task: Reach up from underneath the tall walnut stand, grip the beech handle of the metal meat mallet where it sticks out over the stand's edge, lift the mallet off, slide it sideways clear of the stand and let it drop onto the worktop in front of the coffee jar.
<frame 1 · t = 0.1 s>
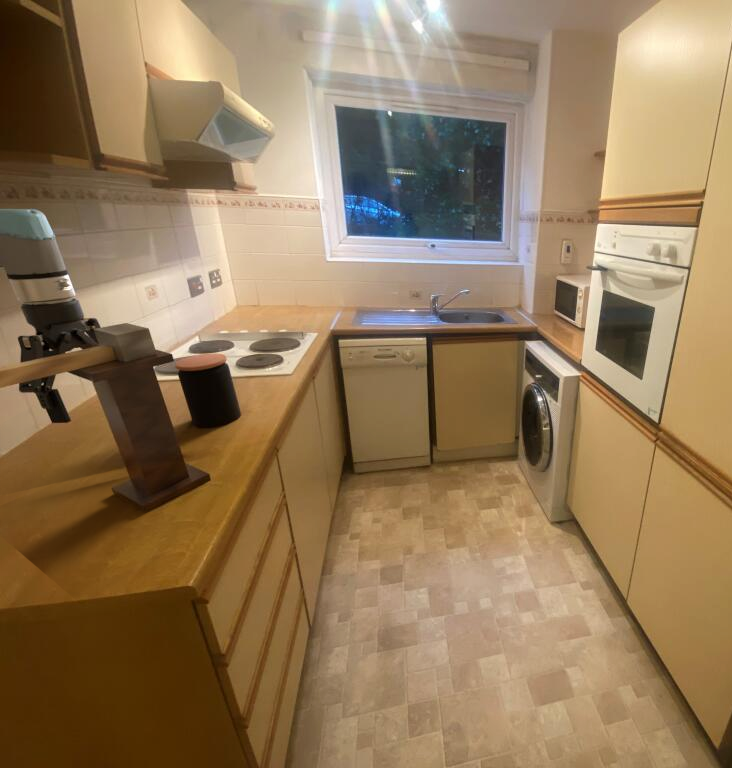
hand: (92, 406, 87), 16 cm above the countertop, tool pointing down, fingers open, 13 cm apart
stand: (163, 486, 89), on the countertop
mallet: (74, 368, 73), point 28 cm above the countertop, touching stand
coffee jar: (219, 424, 114), on the countertop
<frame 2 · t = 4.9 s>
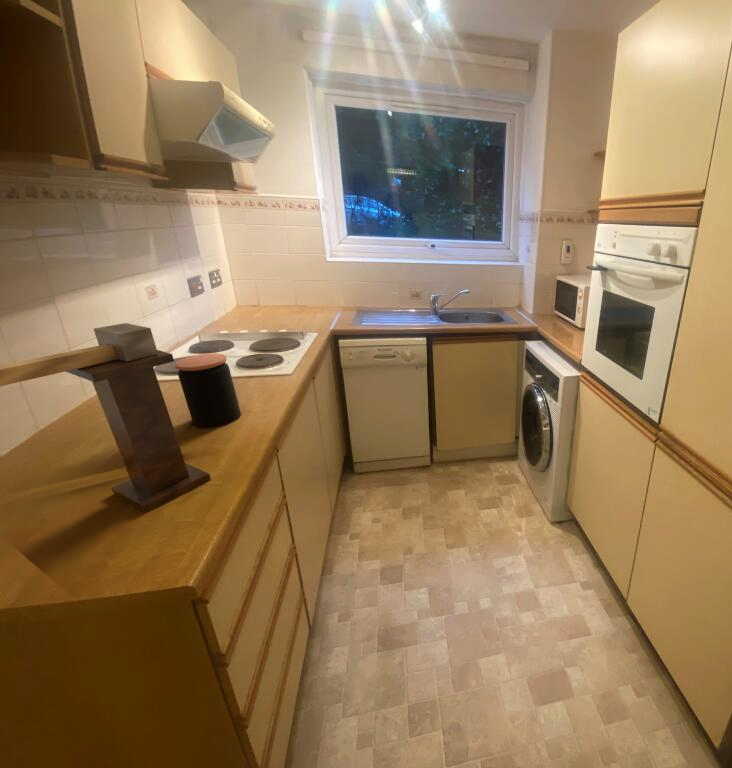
mallet: (75, 367, 73), point 28 cm above the countertop
everything else where it was.
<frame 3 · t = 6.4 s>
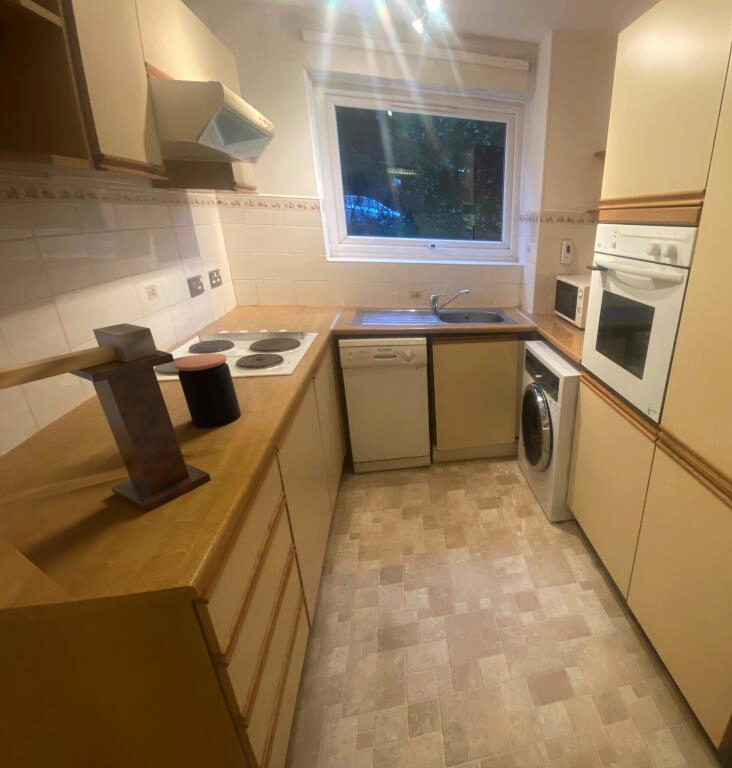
mallet: (75, 368, 73), point 28 cm above the countertop, touching stand
everything else where it was.
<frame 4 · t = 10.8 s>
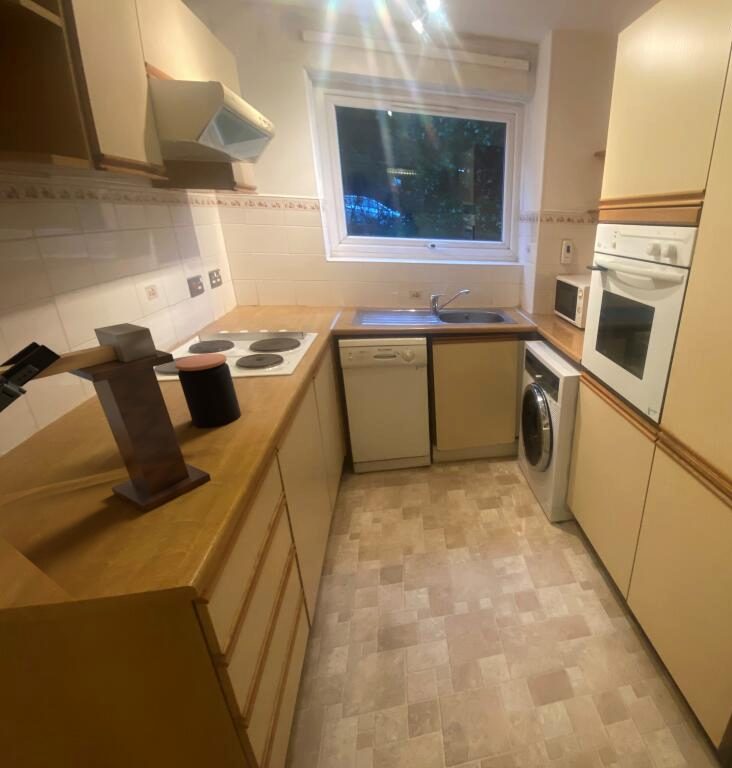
hand: (47, 349, 70), 32 cm above the countertop, tool pointing upward, fingers closed on mallet, 2 cm apart
mallet: (74, 368, 73), point 28 cm above the countertop, touching gripper, stand
everything else where it was.
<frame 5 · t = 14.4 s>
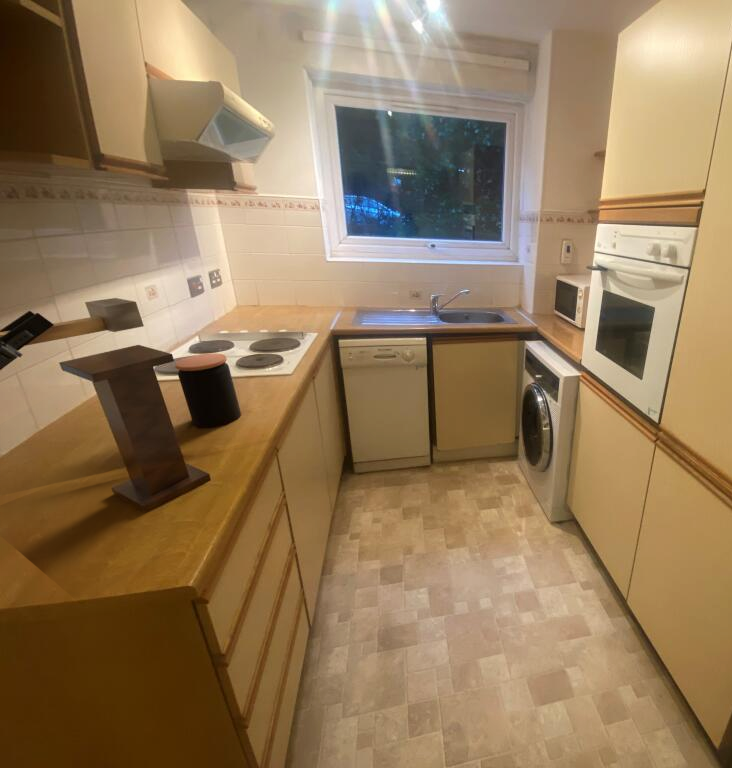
hand: (41, 318, 77), 35 cm above the countertop, tool pointing upward, fingers closed on mallet, 2 cm apart
mallet: (67, 336, 80), point 31 cm above the countertop, touching gripper
everything else where it was.
when the fingers open (21 cm above the countertop, at t = 17.9 s): mallet drops 17 cm, on the countertop.
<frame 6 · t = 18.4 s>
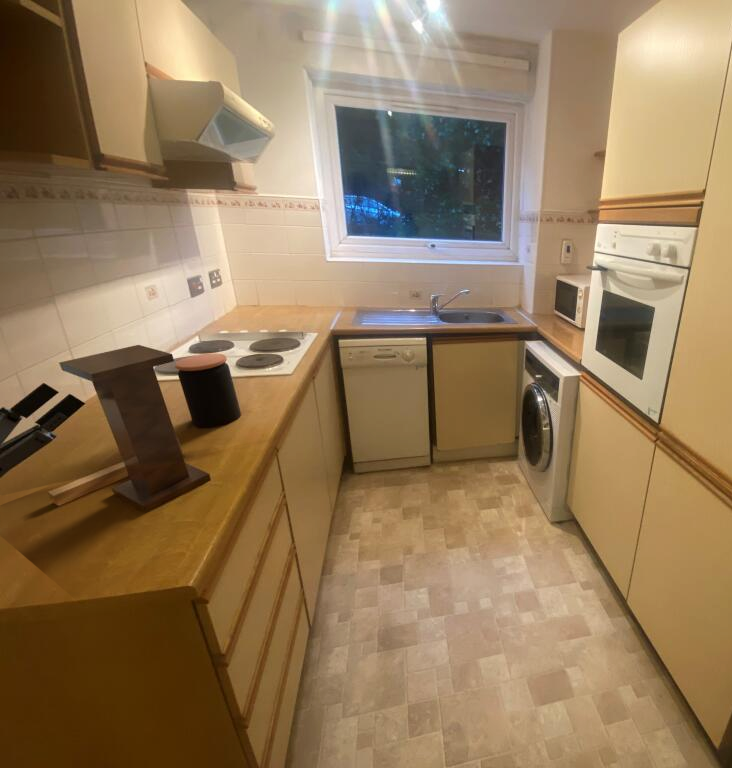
hand: (64, 392, 82), 21 cm above the countertop, tool pointing upward, fingers open, 10 cm apart
mallet: (120, 476, 92), on the countertop
everything else where it was.
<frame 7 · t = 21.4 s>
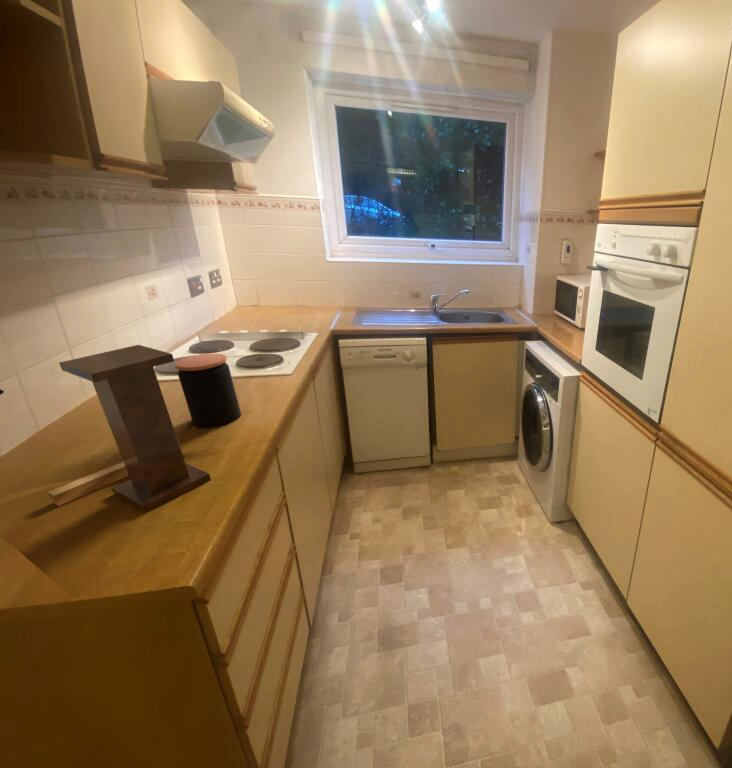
nothing on the countertop moved.
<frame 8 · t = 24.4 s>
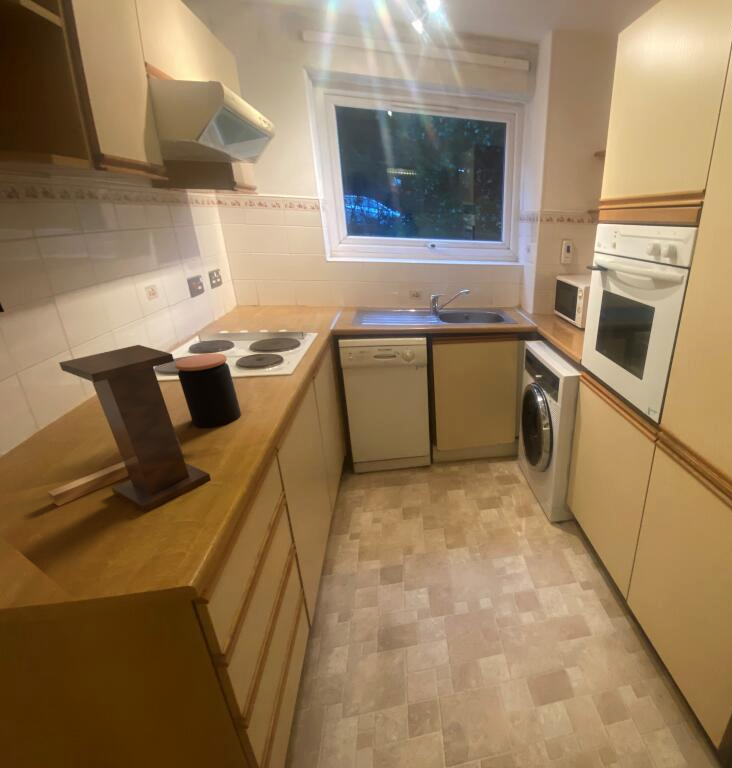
nothing on the countertop moved.
at the end: mallet on the countertop; mallet touching countertop; mallet inside the target area on the countertop beside the coffee jar (0.2 cm from its centre), on the countertop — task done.
